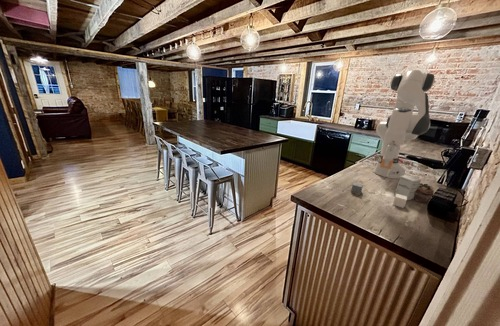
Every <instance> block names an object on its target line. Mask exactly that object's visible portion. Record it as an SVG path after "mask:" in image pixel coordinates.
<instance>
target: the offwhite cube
mask: <svg viewBox="0 0 500 326" xmlns="http://www.w3.org/2000/svg"><path fill="white" fill-rule="evenodd" d="M407 201H408V200H407V196H403V195H400V194H396V195H394V199H393V203H392V205H394V206H397V207H399V208H403V209H404V208H405V206H406V203H407Z"/></svg>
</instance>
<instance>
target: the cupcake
mask: <svg viewBox="0 0 500 326" xmlns="http://www.w3.org/2000/svg"><path fill="white" fill-rule="evenodd" d="M434 189H435V188H434V187H433V186H431V185H429V184H428V183H422V182H420V184H419V187H418V188H417V190H416V191H415V195H414V198H413V199H412V200H414V201H417V202H418V203H423V204H428V203H429V202H430V201H431V200H432V198H433V197H432V195H433V194H434V193H435V192H434ZM433 196H434V195H433ZM431 197H432V198H431ZM430 199H431V200H430ZM429 200H430V201H429Z"/></svg>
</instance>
